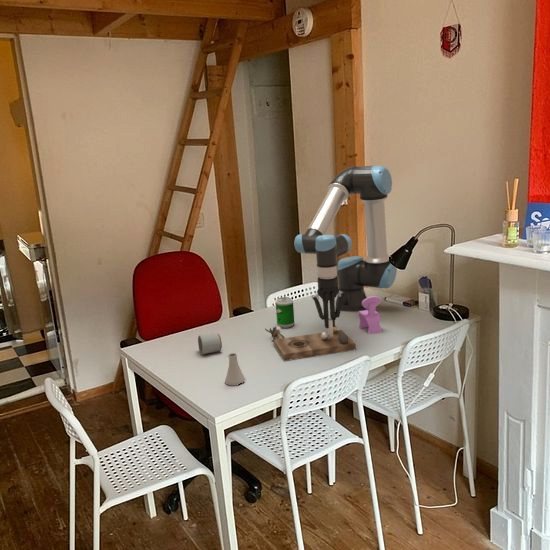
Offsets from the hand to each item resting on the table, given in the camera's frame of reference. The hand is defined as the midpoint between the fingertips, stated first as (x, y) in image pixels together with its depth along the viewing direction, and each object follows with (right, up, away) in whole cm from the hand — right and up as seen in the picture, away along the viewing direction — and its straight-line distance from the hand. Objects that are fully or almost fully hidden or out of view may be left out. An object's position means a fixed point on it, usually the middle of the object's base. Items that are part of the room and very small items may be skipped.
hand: (330, 335), depth 223 cm
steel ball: (-2, 0, 0) cm, 2 cm away
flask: (-35, -13, -25) cm, 45 cm away
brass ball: (+2, +2, +6) cm, 7 cm away
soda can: (-17, +1, +27) cm, 31 cm away
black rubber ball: (+5, -1, -5) cm, 7 cm away
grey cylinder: (-47, -7, +4) cm, 48 cm away
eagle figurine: (-21, -4, +10) cm, 23 cm away
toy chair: (+18, +1, +15) cm, 23 cm away
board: (-6, -5, 0) cm, 8 cm away
